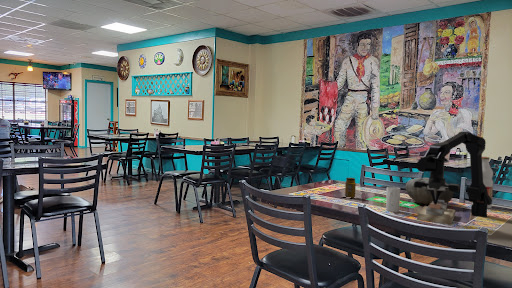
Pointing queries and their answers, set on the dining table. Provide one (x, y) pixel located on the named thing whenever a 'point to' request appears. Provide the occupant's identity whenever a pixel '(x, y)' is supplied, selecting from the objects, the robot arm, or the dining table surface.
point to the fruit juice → (487, 177)
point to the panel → (436, 214)
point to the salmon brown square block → (435, 206)
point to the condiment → (350, 187)
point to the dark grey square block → (440, 202)
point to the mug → (392, 199)
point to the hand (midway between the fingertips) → (435, 204)
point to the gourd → (425, 192)
